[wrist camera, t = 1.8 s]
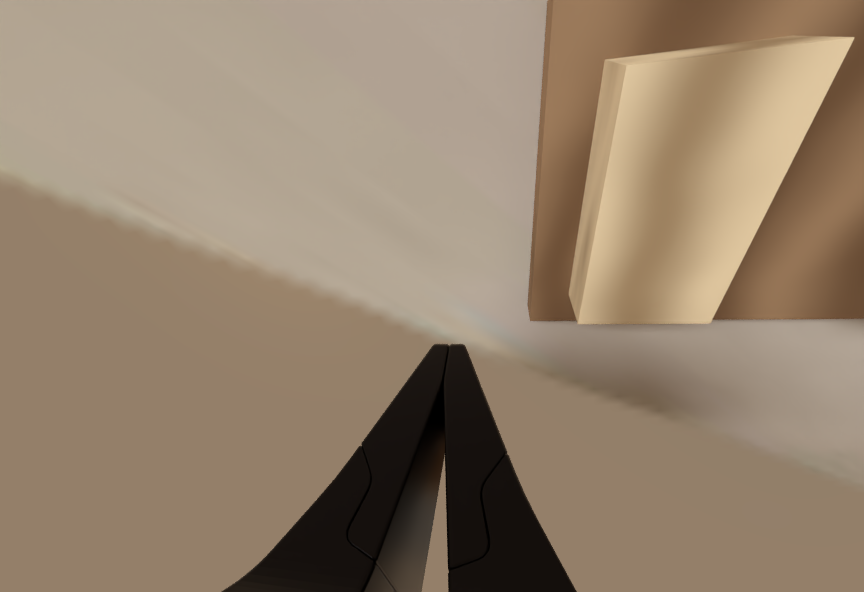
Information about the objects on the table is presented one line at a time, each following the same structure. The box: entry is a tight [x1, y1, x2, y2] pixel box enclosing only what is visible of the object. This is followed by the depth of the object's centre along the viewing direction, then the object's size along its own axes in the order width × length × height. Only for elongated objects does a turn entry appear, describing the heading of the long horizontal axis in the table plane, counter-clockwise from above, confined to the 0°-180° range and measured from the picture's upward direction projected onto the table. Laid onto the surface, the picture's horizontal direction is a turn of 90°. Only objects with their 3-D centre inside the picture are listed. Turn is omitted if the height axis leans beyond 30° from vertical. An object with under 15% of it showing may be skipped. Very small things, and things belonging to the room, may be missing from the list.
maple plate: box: [569, 36, 855, 324], centre depth 14 cm, size 6×11×2 cm, turn 7°
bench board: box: [528, 0, 864, 321], centre depth 14 cm, size 20×15×5 cm
